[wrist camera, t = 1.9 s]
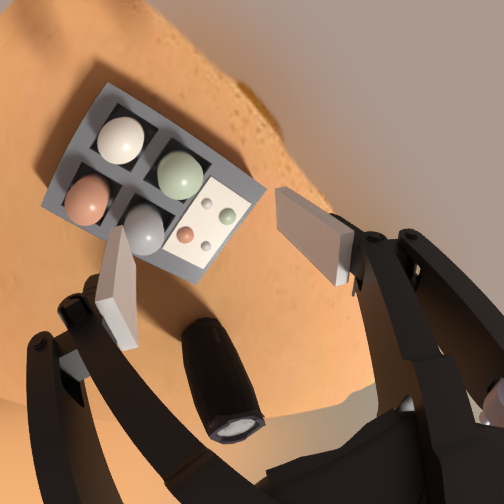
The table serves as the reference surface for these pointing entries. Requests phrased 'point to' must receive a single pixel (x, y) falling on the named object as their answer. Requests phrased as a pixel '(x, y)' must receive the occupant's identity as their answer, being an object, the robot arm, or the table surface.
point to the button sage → (179, 175)
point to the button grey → (144, 228)
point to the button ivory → (121, 140)
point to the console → (157, 186)
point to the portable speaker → (219, 383)
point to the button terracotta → (88, 199)
